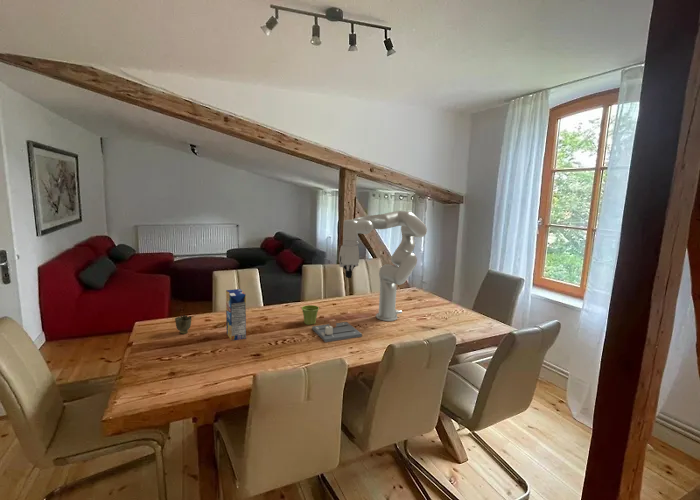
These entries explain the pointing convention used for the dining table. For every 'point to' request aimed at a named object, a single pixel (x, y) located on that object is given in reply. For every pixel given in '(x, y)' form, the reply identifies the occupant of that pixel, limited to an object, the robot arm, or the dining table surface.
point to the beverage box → (236, 314)
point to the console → (337, 332)
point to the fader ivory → (328, 330)
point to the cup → (183, 323)
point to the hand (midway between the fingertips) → (348, 277)
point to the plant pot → (310, 314)
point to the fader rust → (332, 323)
